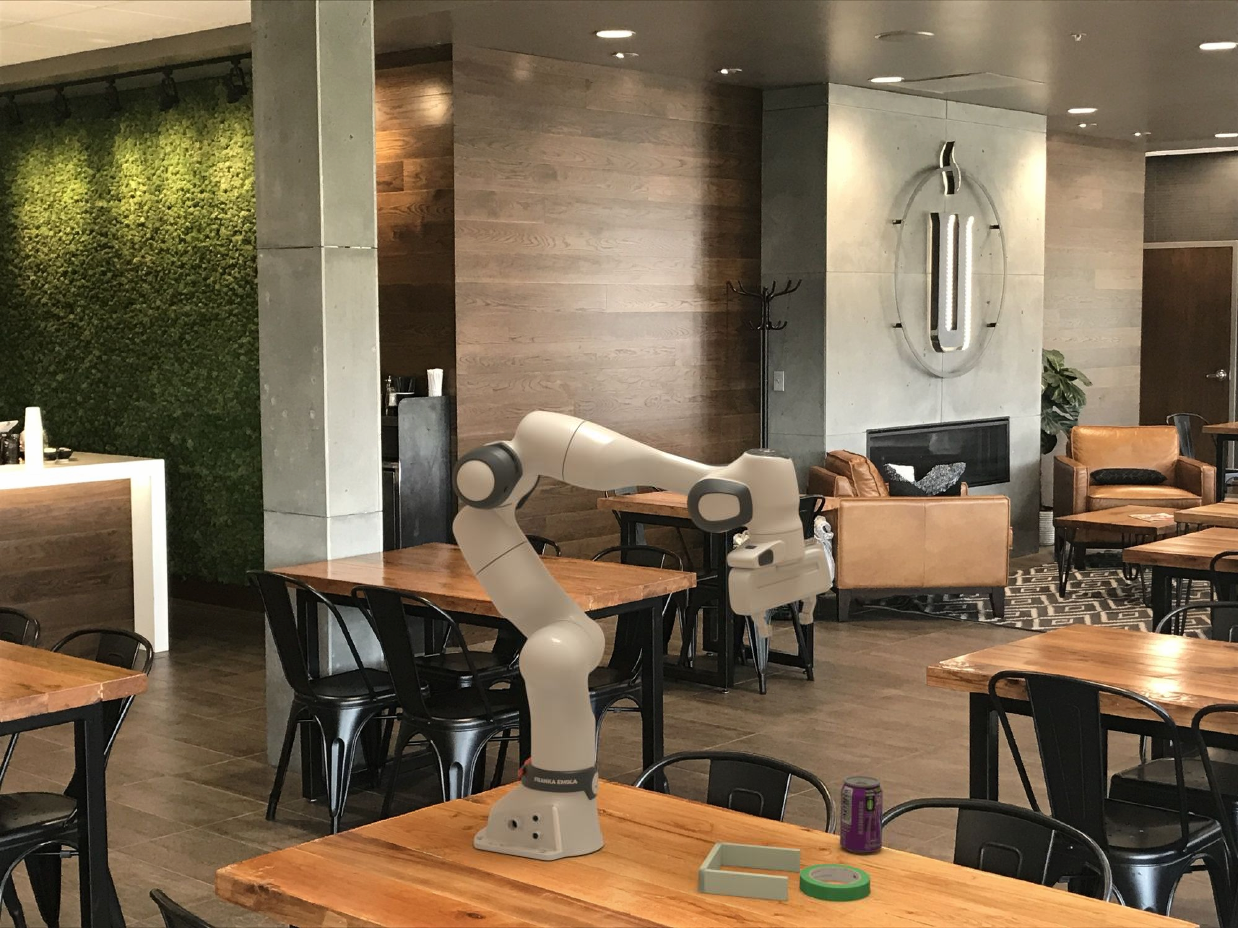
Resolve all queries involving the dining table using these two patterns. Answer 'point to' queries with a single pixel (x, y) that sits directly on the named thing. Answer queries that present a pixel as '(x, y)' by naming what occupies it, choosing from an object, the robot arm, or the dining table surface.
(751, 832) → the dining table surface
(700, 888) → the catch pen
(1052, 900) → the dining table surface
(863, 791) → the beverage can
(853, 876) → the tape roll
